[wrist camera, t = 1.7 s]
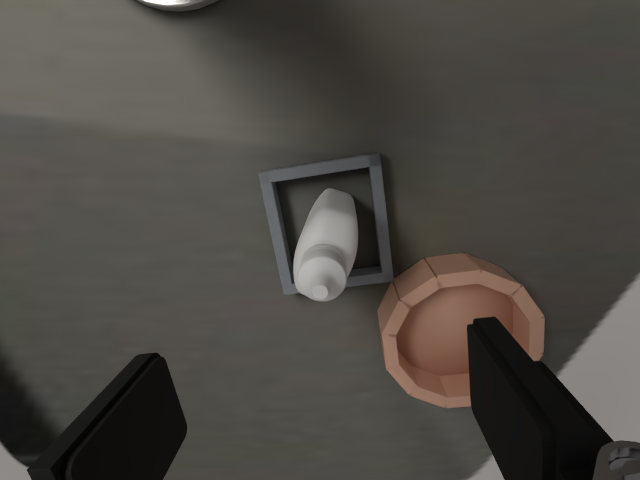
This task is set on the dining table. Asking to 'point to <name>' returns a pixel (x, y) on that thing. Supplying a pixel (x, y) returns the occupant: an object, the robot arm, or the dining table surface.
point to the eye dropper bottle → (326, 246)
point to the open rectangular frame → (317, 168)
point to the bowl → (450, 323)
